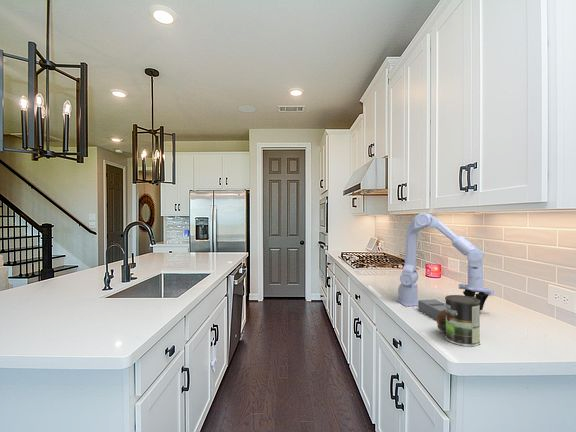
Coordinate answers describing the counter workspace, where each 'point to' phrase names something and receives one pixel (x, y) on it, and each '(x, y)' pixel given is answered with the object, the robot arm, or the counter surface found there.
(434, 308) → the dispenser
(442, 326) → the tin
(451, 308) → the coffee can
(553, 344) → the counter surface
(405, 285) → the robot arm
